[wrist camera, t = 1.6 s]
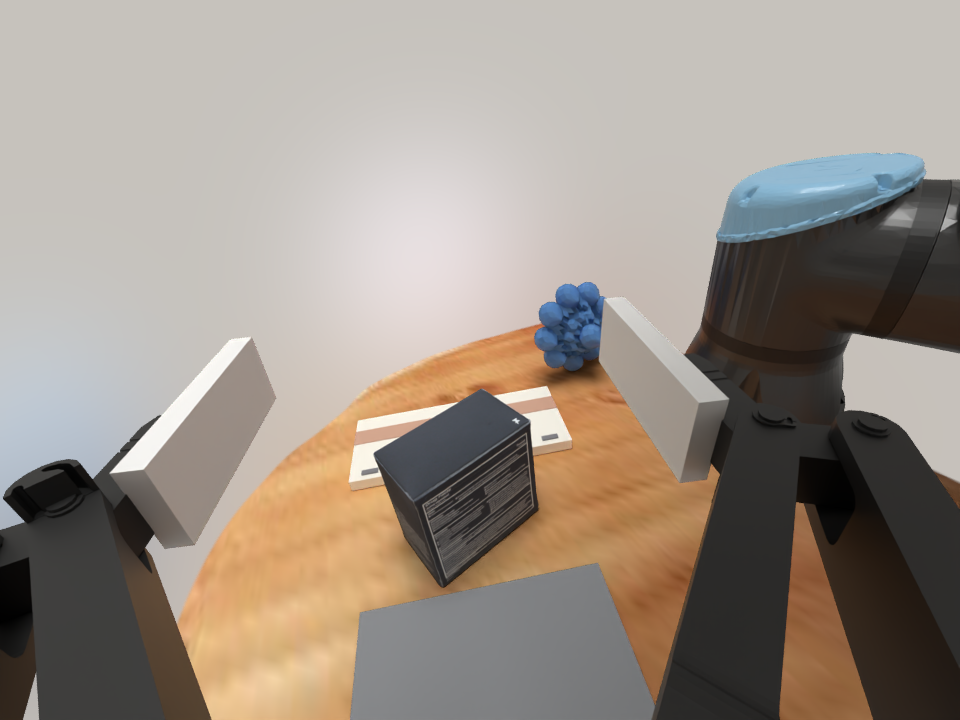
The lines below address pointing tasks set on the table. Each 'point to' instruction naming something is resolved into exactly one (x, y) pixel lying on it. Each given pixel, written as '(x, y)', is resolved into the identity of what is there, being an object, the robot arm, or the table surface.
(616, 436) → the table surface
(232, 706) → the table surface
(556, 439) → the board
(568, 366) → the blue bumpy cluster
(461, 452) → the small box
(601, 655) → the mat
